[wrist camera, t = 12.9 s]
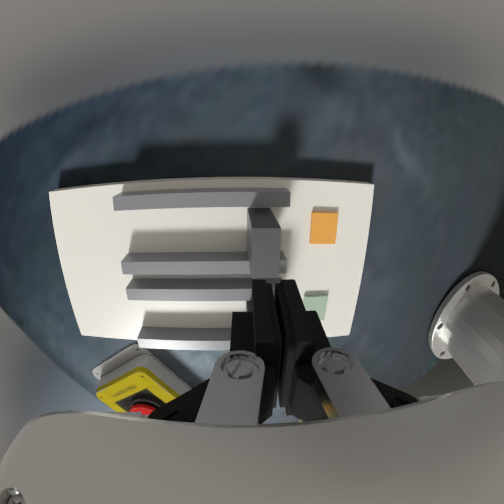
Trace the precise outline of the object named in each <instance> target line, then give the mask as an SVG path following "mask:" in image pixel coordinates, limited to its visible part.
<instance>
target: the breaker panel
mask: <svg viewBox="0 0 504 504" xmlns="http://www.w3.org/2000/svg"><path fill="white" fill-rule="evenodd" d="M373 191H374V185H373V184H371V183H368V182H362V181H349V180H334V179H315V178H290V177H196V178H171V179H153V180H138V181H125V182H113V183H103V184H93V185H84V186H75V187H67V188H60V189H56V190H53V191H50V192H49V198H50V206H51V213H52V220H53V226H54V232H55V237H56V243H57V248H58V253H59V257H60V262H61V266H62V270H63V274H64V278H65V282H66V286H67V290H68V293H69V297H70V300H71V304H72V307H73V310H74V314H75V317H76V320H77V323H78V326H79V329H80V332H81V335H87V336H96V337H107V338H119V339H132V340H137V341H138V345H139V348H154V349H177V350H230V341H231V324H232V312H246V301H252V280H266V283H271V284H272V289H273V295H274V294H275V283H280V280H281V279H295V281H296V284H297V287H298V290H299V293H300V295H301V298H302V301H303V304H304V307H305V309H306V311H313V310H315V311H316V312H317V314H318V316H319V319H320V321H321V324H322V326H323V329H324V331H325V334H326V336H327V337H334V336H344V335H349V333H350V329H351V325H352V321H353V316H354V312H355V307H356V302H357V297H358V293H359V287H360V282H361V277H362V271H363V266H364V260H365V253H366V247H367V240H368V233H369V226H370V218H371V210H372V201H373ZM247 208H270V209H271V211H272V213H273V214H274V216H275V218H276V220H277V221H278V223H279V225H280V227H281V245H280V264H279V278H252V279H251V274H250V267H249V260H248V252H247Z"/></svg>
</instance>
